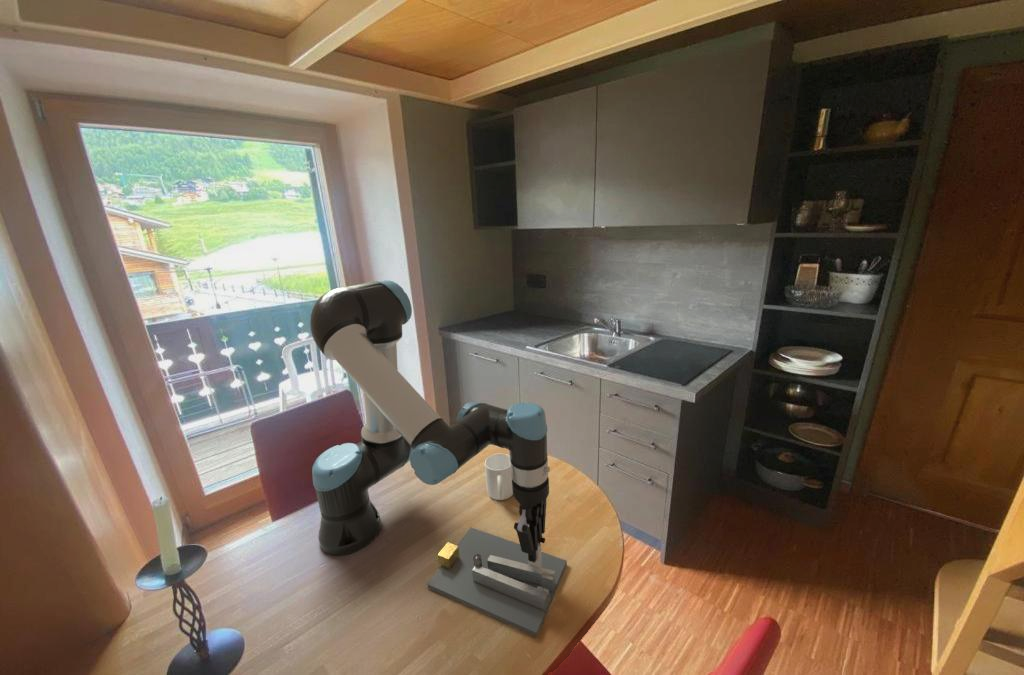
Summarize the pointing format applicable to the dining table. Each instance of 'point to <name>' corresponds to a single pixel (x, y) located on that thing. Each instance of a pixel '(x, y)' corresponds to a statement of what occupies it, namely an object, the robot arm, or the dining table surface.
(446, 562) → the tab
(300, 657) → the dining table surface
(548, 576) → the tongs jaw
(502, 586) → the tongs fixed
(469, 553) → the board
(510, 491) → the mug
